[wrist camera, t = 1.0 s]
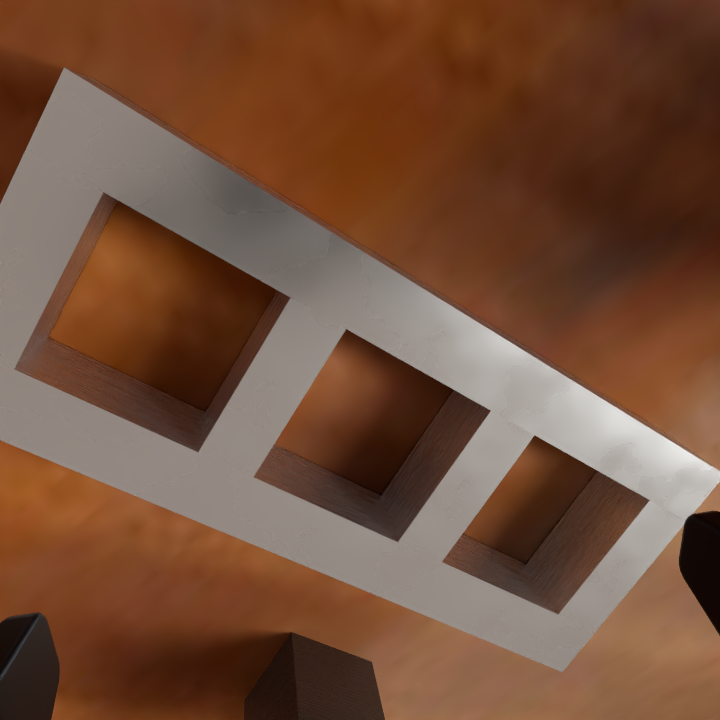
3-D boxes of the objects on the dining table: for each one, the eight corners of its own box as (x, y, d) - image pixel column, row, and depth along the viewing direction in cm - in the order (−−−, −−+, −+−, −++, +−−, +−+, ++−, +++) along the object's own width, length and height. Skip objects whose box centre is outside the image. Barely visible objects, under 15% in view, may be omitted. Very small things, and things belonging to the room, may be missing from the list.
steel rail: (673, 437, 25) (724, 474, 22) (530, 617, 27) (562, 671, 24) (94, 78, 18) (64, 67, 15) (-44, 365, 20) (-93, 402, 17)
